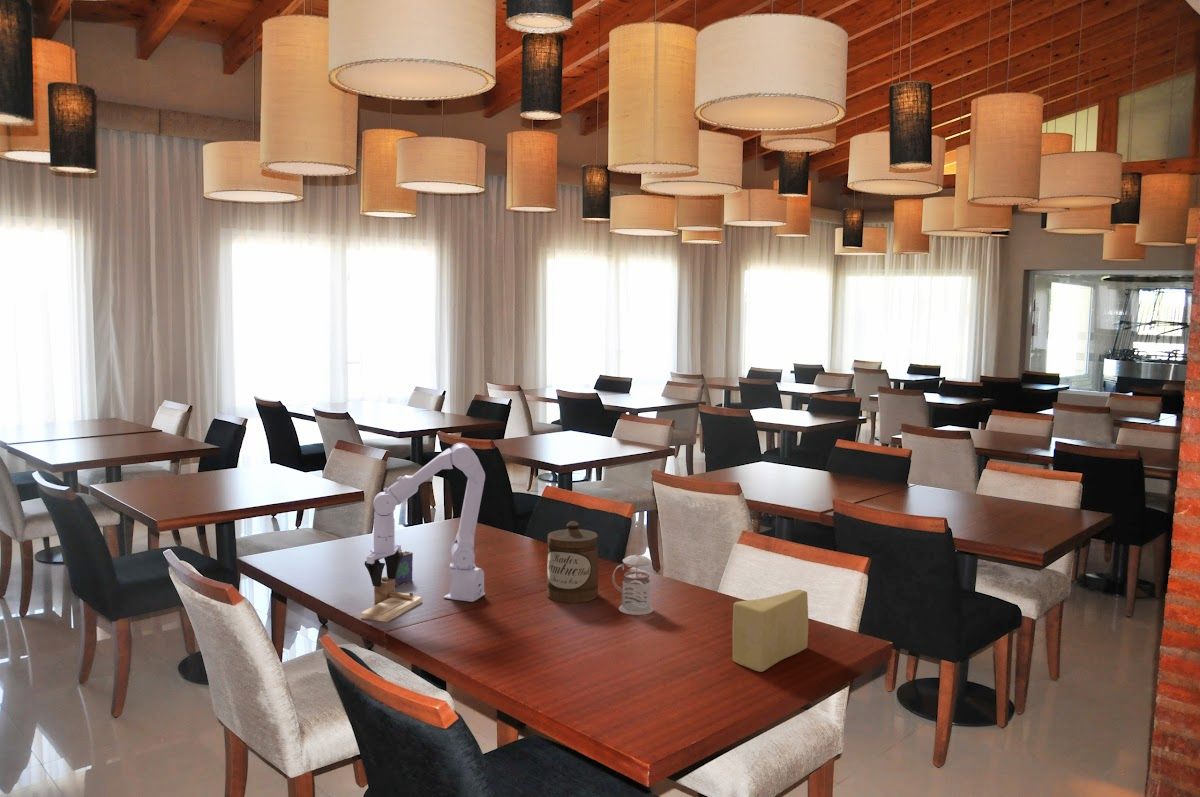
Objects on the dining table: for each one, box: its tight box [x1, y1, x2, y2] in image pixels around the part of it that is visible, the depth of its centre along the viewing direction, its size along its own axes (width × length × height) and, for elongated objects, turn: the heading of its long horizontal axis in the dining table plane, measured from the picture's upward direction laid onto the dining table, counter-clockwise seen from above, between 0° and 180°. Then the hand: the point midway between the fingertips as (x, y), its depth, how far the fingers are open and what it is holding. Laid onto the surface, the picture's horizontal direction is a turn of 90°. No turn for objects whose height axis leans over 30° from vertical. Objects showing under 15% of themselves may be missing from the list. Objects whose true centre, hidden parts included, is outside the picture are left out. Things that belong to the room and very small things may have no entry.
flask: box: [394, 549, 414, 588], centre depth 278 cm, size 9×3×11 cm, turn 146°
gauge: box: [373, 576, 415, 604], centre depth 261 cm, size 11×4×7 cm, turn 71°
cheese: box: [732, 589, 809, 673], centre depth 224 cm, size 22×10×15 cm, turn 129°
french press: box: [612, 520, 654, 616], centre depth 258 cm, size 10×12×25 cm
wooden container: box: [546, 520, 599, 604], centre depth 269 cm, size 15×15×22 cm
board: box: [360, 595, 423, 623], centre depth 254 cm, size 8×18×2 cm, turn 161°
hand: (384, 582), depth 262 cm, fingers open, 7 cm apart
